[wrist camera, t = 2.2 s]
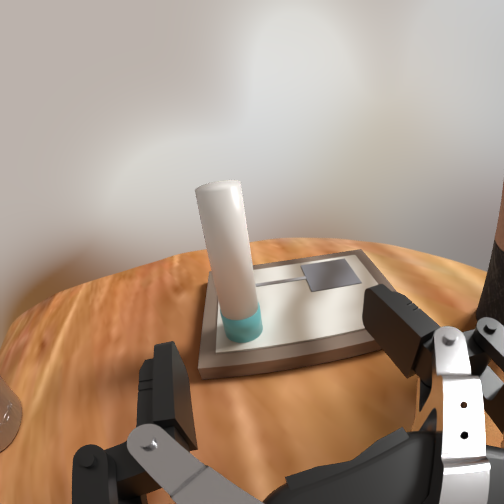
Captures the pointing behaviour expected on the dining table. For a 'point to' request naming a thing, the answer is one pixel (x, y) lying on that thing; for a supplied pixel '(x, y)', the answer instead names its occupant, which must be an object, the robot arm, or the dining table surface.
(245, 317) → the cylinder
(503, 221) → the travel mug
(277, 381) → the dining table surface
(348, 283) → the board
